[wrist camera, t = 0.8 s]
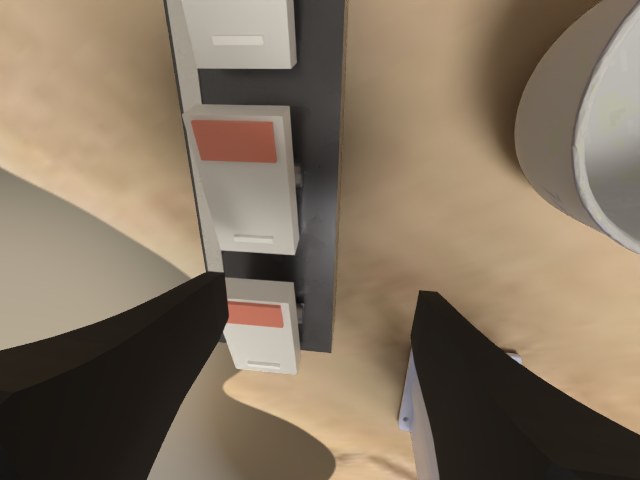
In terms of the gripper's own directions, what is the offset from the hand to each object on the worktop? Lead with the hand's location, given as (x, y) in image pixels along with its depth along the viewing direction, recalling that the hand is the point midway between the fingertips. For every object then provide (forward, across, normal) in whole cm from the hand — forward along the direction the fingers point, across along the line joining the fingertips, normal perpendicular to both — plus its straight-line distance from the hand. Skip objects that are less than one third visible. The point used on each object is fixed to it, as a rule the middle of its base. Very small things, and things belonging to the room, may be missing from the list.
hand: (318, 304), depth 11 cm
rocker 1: (+6, +4, +5) cm, 9 cm away
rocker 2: (+6, +4, -3) cm, 8 cm away
